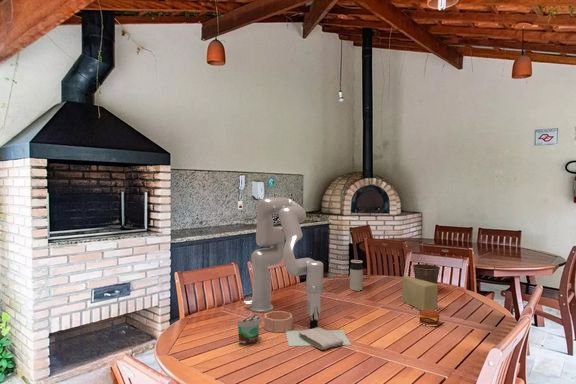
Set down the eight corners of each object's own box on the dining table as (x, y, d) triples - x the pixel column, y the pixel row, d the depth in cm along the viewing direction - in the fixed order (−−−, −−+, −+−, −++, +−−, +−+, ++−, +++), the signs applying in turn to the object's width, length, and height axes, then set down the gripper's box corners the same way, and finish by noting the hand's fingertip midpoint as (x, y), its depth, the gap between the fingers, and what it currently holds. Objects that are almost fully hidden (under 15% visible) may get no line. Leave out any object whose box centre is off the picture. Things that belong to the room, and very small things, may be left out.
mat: (288, 346, 164) (288, 345, 164) (285, 331, 180) (285, 330, 180) (351, 345, 166) (351, 344, 166) (342, 330, 182) (342, 330, 182)
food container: (248, 349, 160) (249, 324, 160) (236, 345, 164) (237, 321, 163) (266, 338, 171) (266, 315, 171) (254, 335, 174) (255, 312, 174)
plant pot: (409, 288, 257) (410, 263, 256) (436, 289, 255) (436, 264, 254) (414, 295, 241) (415, 268, 240) (442, 296, 238) (443, 269, 238)
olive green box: (395, 301, 227) (396, 275, 227) (409, 299, 231) (409, 274, 231) (424, 314, 207) (424, 285, 207) (438, 311, 211) (439, 283, 211)
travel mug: (362, 291, 246) (363, 262, 246) (349, 290, 248) (350, 261, 247) (362, 288, 254) (363, 260, 253) (349, 287, 255) (350, 259, 255)
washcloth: (317, 331, 180) (318, 324, 180) (344, 345, 165) (345, 337, 165) (296, 336, 173) (296, 329, 173) (322, 351, 159) (322, 344, 158)
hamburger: (437, 328, 186) (437, 314, 186) (416, 324, 192) (416, 311, 191) (441, 322, 194) (442, 309, 194) (421, 319, 200) (421, 305, 199)
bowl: (264, 333, 177) (264, 320, 177) (263, 322, 190) (263, 311, 190) (293, 332, 178) (293, 320, 178) (290, 322, 191) (291, 310, 191)
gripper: (304, 284, 188) (303, 322, 189) (308, 293, 174) (307, 335, 174) (320, 284, 189) (319, 322, 190) (325, 293, 174) (324, 335, 175)
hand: (313, 328), depth 182 cm, fingers closed
